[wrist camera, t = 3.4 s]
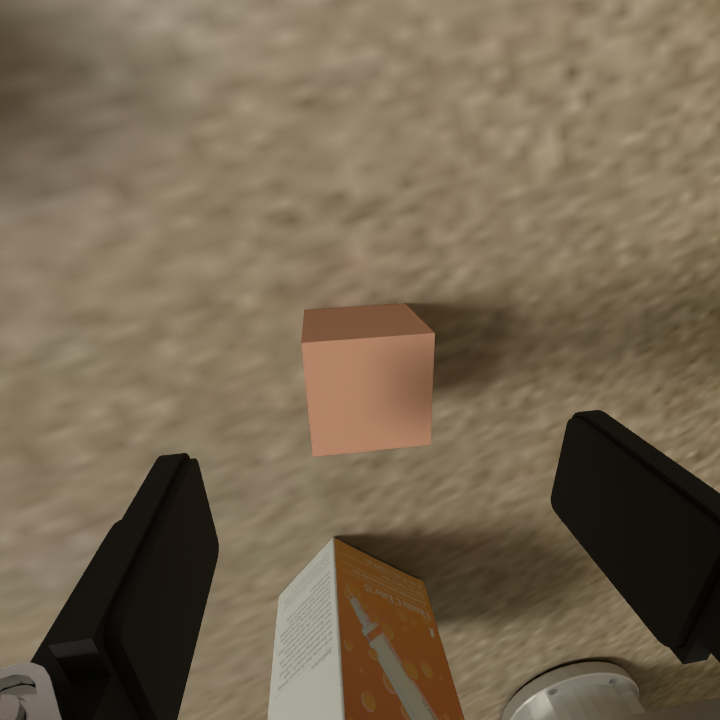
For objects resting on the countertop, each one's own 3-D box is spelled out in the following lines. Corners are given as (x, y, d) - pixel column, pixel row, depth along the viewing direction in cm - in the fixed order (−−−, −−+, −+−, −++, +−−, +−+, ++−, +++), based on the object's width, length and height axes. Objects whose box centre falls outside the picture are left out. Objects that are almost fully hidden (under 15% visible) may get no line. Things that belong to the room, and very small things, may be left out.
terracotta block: (404, 303, 19) (434, 332, 14) (404, 392, 20) (430, 444, 16) (304, 309, 18) (301, 342, 14) (313, 400, 20) (313, 456, 15)
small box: (425, 578, 26) (521, 892, 14) (368, 631, 27) (412, 958, 15) (332, 532, 23) (353, 868, 11) (275, 594, 25) (241, 951, 13)
